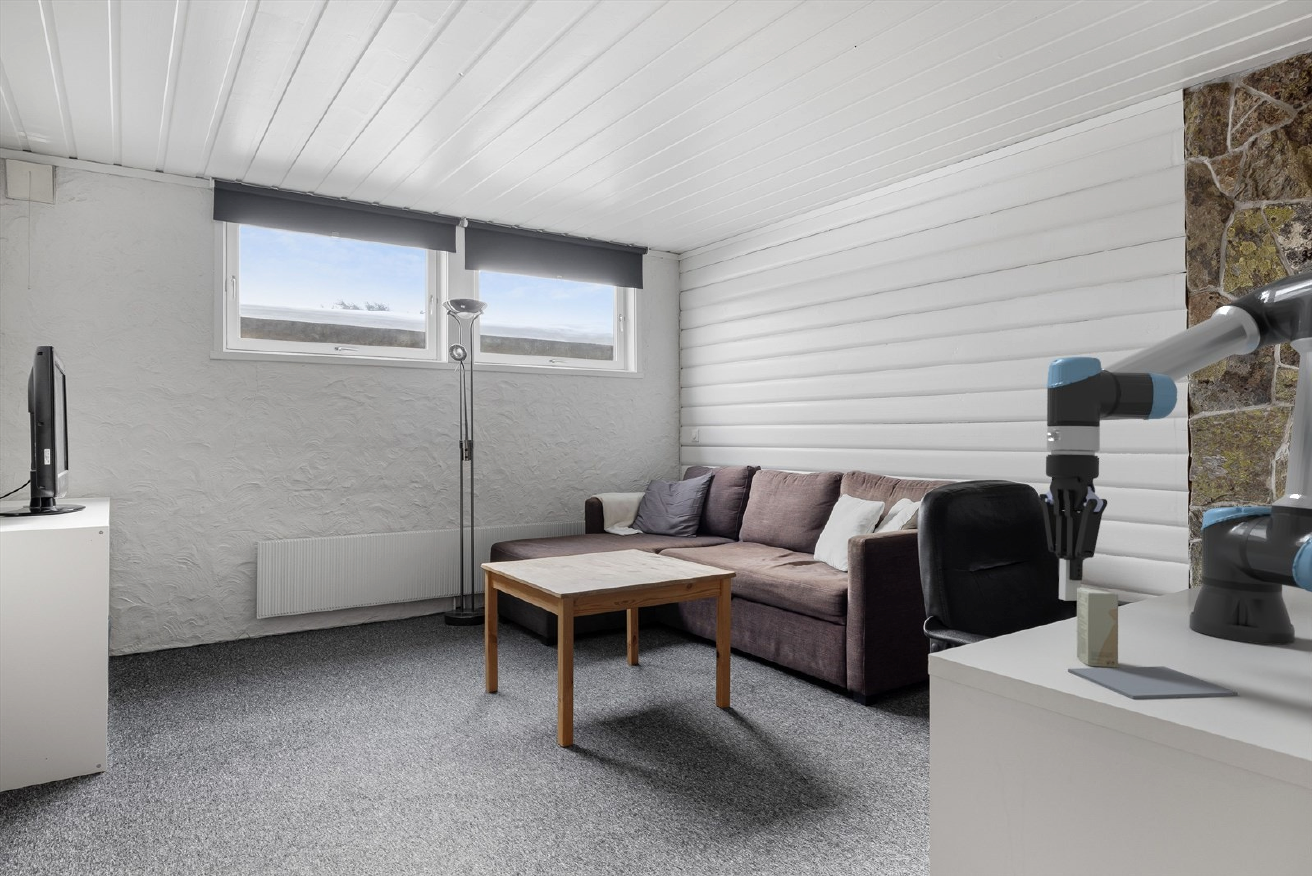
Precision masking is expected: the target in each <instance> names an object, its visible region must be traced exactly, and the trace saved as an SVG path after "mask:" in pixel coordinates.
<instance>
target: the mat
mask: <svg viewBox="0 0 1312 876" xmlns="http://www.w3.org/2000/svg"><path fill="white" fill-rule="evenodd" d="M1067 672H1068V673H1070V674H1073V675H1076V676H1078V677H1080V678H1083V679H1085V680H1087V681H1090V682H1092V683H1094V684H1097V685H1099V686H1101V687H1104V688H1106V689H1108V690H1111V691H1114V692H1116V693H1118V694H1121V695H1123V696H1126V697H1127V698H1130V699H1133V700H1134V699H1135V700H1136V699H1139V700H1140V699H1164V698H1165V699H1167V698H1196V697H1197V698H1199V697H1225V696H1226V697H1227V696H1228V697H1229V696H1239V692H1238V691H1236V690H1233V689H1231V688H1226V687H1223V686H1222V685H1218V684H1215V683H1212V682H1210V681H1206V680H1205V679H1201V678H1199V677H1196V676H1192V675H1189V674H1187V673H1183V672H1181V671H1178V670H1175V669H1172V668H1170V667H1167V666H1163V665H1161V666H1158V665H1157V666H1128V667H1127V666H1126V667H1125V666H1124V667H1121V666H1120V667H1119V666H1118V667H1086V668H1084V667H1083V668H1079V667H1078V668H1067Z"/></svg>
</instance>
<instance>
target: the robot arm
mask: <svg viewBox="0 0 1312 876" xmlns="http://www.w3.org/2000/svg"><path fill="white" fill-rule="evenodd" d="M1285 343H1286V344H1287V343H1289V346H1290V347H1291V348H1292V349H1294V350H1295V351H1296V352H1297V353H1298V354H1299V356H1300V357H1299V366H1298V374H1297V383H1296V391H1295V401H1294V409H1293V417H1292V418H1293V419H1292V426H1291V427H1292V428H1291V435H1290V445H1289V452H1288V461H1287V462H1288V463H1287V471H1286V479H1285V489H1284V494H1283V495H1282V496H1281V497H1280V498H1279V499H1277V500H1275V501H1274V502H1272V503H1271V506H1230V507H1229V506H1228V507H1226V506H1225V507H1214V508H1210V509H1208V510H1206V511H1205V512H1204V513H1203V517H1202V526H1201V527H1200V532H1201V588H1200V591H1199V593H1198V595H1197V598H1196V601H1195V604H1194V607H1193V611H1191V612H1190V614H1189V625H1188V626H1189V628H1190V629H1191V630H1193V631H1195V632H1198V633H1200V634H1204V635H1208V636H1212V637H1217V638H1222V639H1228V640H1233V641H1239V642H1245V643H1255V644H1270V645H1272V644H1273V645H1283V644H1285V645H1286V644H1292V643H1294V642H1295V637H1296V636H1295V635H1296V633H1295V632H1296V631H1295V627H1294V625H1293V624H1292V622H1291V619H1290V616H1289V612H1288V608H1287V606H1286V603H1285V600H1284V598H1283V597H1284V595H1283V586H1286V587H1292V588H1296V589H1301V590H1304V591H1307V592H1308V593H1309V592H1310V593H1312V270H1309V271H1304V272H1302V273H1297V274H1292V275H1288V276H1284V277H1282V278H1279V279H1276V280H1273V281H1271V282H1269V283H1266V284H1264V285H1262V286H1261V287H1258V288H1256V289H1254V290H1252V291H1250V292H1249V293H1246V294H1244V295H1243V296H1241V297H1239V298H1237V299H1235V300H1233V301H1231V302H1229V303H1227V304H1225V305H1223V306H1221V307H1219V308H1217V309H1216V310H1215V311H1214V312H1213V313H1212V315H1211V317H1210V318H1208V319H1206V320H1203V321H1202V322H1199V323H1198V324H1195V325H1193V326H1191V327H1189V328H1186V329H1185V330H1183V331H1180V332H1178V333H1176V334H1174V335H1170V336H1169V337H1166V338H1165V339H1163V340H1160V341H1157V342H1156V343H1155V344H1152V345H1150V346H1148V347H1146V348H1144V349H1141V350H1139V351H1137V352H1135V353H1133V354H1130V355H1128V356H1126V357H1124V358H1122V359H1120V360H1118V361H1116V362H1113V363H1112V364H1109V365H1107V366H1105V367H1103V368H1102V363H1101V360H1100V359H1099V358H1098V357H1092V356H1070V357H1061V358H1056V359H1054V360H1052V361H1051V362H1050V363H1049V364H1048V365H1049V366H1048V372H1047V381H1046V390H1047V396H1046V397H1047V399H1046V401H1047V403H1046V404H1047V405H1046V426H1047V428H1046V433H1047V434H1046V450H1047V451H1048V452H1050V454H1047V455H1046V456H1045V459H1046V460H1045V474H1046V476H1047V477H1048V478H1051V481H1050V485H1049V491H1047V493H1040V494H1039V495H1038V498H1039V502H1040V504H1041V506H1042V507H1041V508H1042V512H1043V520H1044V526H1045V527H1044V528H1045V533H1046V543H1047V548H1048V549H1047V550H1048V551H1049V552H1050V553H1054V554H1055V556H1056V558H1057V561H1058V562H1057V567H1058V568H1057V575H1058V578H1059V579H1058V580H1059V581H1058V599H1059V600H1063V601H1065V602H1066V601H1067V602H1068V601H1076V602H1077V588H1082V586H1081V583H1082V582H1081V581H1082V580H1083V577H1084V576H1083V574H1084V573H1083V572H1084V571H1083V570H1084V569H1083V568H1084V567H1083V566H1084V565H1083V563H1084V560H1086V559H1089V558H1094V556H1095V551H1096V546H1097V541H1098V537H1099V533H1100V528H1101V522H1102V517H1103V513H1104V511H1105V509H1106V507H1108V500H1107V499H1106V498H1100V497H1099V496H1098V495H1097V494H1096V488H1095V485H1094V480H1095V479H1097V478H1099V477H1100V457H1099V456H1098V455H1096V453H1098V452H1099V451H1101V449H1100V448H1101V447H1100V446H1101V443H1100V442H1101V441H1100V440H1101V433H1100V432H1101V431H1100V429H1101V427H1100V425H1101V421H1112V420H1113V421H1116V420H1143V421H1149V420H1160V419H1161V420H1162V419H1164V418H1166V417H1168V416H1170V414H1171V413H1172V412H1173V411H1174V409H1175V407H1176V405H1177V403H1178V388H1177V384H1176V383H1175V382H1177V381H1179V380H1180V379H1183V378H1185V377H1187V376H1189V375H1192V374H1194V373H1196V372H1197V371H1200V370H1203V369H1204V368H1206V367H1209V366H1211V365H1213V364H1215V363H1217V362H1219V361H1222V360H1224V359H1226V358H1228V357H1230V356H1232V355H1237V356H1239V355H1240V356H1244V355H1247V354H1251V353H1252V352H1254V351H1257V350H1259V349H1263V348H1266V347H1270V346H1276V345H1281V344H1285Z"/></svg>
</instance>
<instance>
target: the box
mask: <svg viewBox="0 0 1312 876" xmlns="http://www.w3.org/2000/svg"><path fill="white" fill-rule="evenodd" d="M1076 658H1077V659H1078V660H1079V661H1080V662H1082V663H1084V664H1085V665H1087V666H1090V667H1092V666H1093V667H1101V668H1118V667H1119V594H1118V593H1115V592H1114V591H1111V590H1108V589H1105V588H1096V587H1095V588H1092V587H1081V588H1077V601H1076Z"/></svg>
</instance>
